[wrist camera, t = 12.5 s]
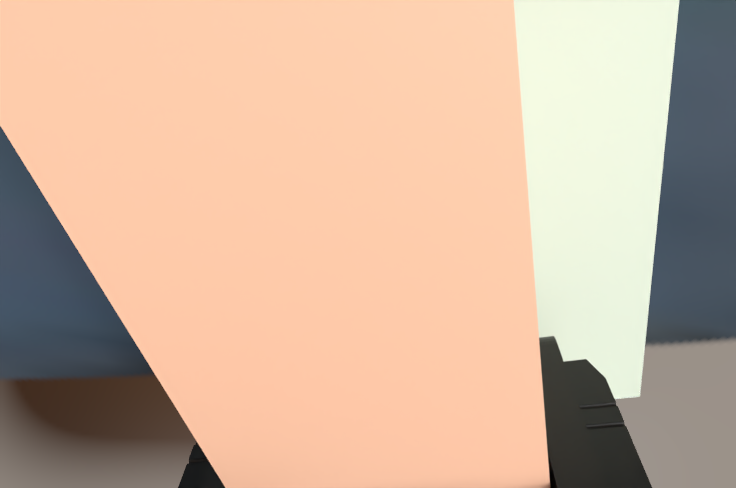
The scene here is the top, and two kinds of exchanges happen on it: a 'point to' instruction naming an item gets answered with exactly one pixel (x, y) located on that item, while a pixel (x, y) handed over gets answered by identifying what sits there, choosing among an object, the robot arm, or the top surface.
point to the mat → (595, 170)
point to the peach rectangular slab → (301, 224)
